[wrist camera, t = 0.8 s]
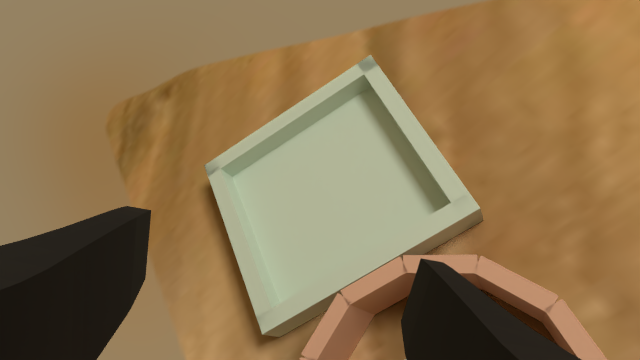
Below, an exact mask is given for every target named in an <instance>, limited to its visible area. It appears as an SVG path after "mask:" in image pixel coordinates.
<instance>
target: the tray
mask: <svg viewBox="0 0 640 360" xmlns="http://www.w3.org/2000/svg"><path fill="white" fill-rule="evenodd" d="M204 166H205V168H206V171H207V174H208V177H209V180H210V183H211V186H212V189H213V192H214V195H215V198H216V201H217V204H218V206H219V209H220V212H221V215H222V218H223V221H224V224H225V227H226V230H227V233H228V236H229V239H230V242H231V244H232V247H233V250H234V253H235V256H236V259H237V262H238V265H239V268H240V271H241V274H242V277H243V280H244V283H245V285H246V288H247V291H248V294H249V297H250V300H251V303H252V306H253V309H254V312H255V315H256V318H257V321H258V323H259V326H260V329H261V332H262V334H263V335H269V336H275V337H281V336H283V335H284V334H286V333H288V332H290V331H291V330H293V329H295V328H297V327H298V326H300V325H302V324H304V323H305V322H307V321H309V320H311V319H312V318H314V317H316V316H318V315H319V314H321V313H323V312H325V311H326V310H328V308H329V307H330V305H331V303H332V302H333V300H334V298H335V297H336V295H337V294H338V293H339V294H341V295H342V293H341V291H340V290H342V289H344V288H345V287H347V286H349V285H351V284H352V283H354V282H356V281H358V280H359V279H361V278H363V277H364V276H366V275H368V274H370V273H371V272H373V271H375V270H377V269H378V268H380V267H382V266H383V265H385V264H387V263H389V262H390V261H392V260H394V259H396V258H397V257H399V256H400V257H401V258H402V259H403V255H424V254H426V253H427V252H429V251H431V250H433V249H434V248H436V247H438V246H440V245H441V244H443V243H445V242H447V241H448V240H450V239H452V238H454V237H455V236H457V235H459V234H461V233H462V232H464V231H466V230H467V229H469V228H471V227H473V226H474V225H476V224H478V223H480V222H481V221H483V216H482V213H481V209H480V207H479V206H478V204H477V203H476V201H475V200H474V199H473V197H472V196H471V194H470V193H469V192H468V190H467V189H466V187H465V186H464V185H463V183H462V182H461V181H460V179H459V178H458V176H457V175H456V174H455V172H454V171H453V169H452V168H451V167H450V165H449V164H448V162H447V161H446V160H445V158H444V157H443V155H442V154H441V153H440V151H439V150H438V148H437V147H436V146H435V144H434V143H433V141H432V140H431V139H430V137H429V136H428V134H427V133H426V132H425V130H424V129H423V127H422V126H421V125H420V123H419V122H418V120H417V119H416V118H415V116H414V115H413V113H412V112H411V111H410V109H409V108H408V106H407V105H406V104H405V102H404V101H403V99H402V98H401V97H400V95H399V94H398V92H397V91H396V90H395V88H394V87H393V85H392V84H391V83H390V81H389V80H388V79H387V77H386V76H385V74H384V73H383V72H382V70H381V69H380V67H379V66H378V65H377V63H376V62H375V60H374V59H373V58H372V56H371V55H370V56H368V57H367V58H365V59H364V60H362V61H361V62H359V63H358V64H356V65H355V66H353V67H352V68H350V69H349V70H347V71H346V72H344V73H343V74H341V75H340V76H338V77H337V78H335V79H334V80H332V81H331V82H329V83H328V84H326V85H325V86H323V87H322V88H320V89H319V90H317V91H316V92H314V93H313V94H311V95H310V96H308V97H307V98H305V99H304V100H302V101H301V102H299V103H297V104H296V105H294V106H293V107H291V108H290V109H288V110H287V111H285V112H284V113H282V114H281V115H279V116H278V117H276V118H275V119H273V120H272V121H270V122H269V123H267V124H266V125H264V126H263V127H261V128H260V129H258V130H257V131H255V132H254V133H252V134H251V135H249V136H248V137H246V138H245V139H243V140H242V141H240V142H239V143H237V144H236V145H234V146H233V147H231V148H230V149H228V150H227V151H225V152H224V153H222V154H221V155H219V156H218V157H216V158H215V159H213V160H212V161H210V162H209V163H207V164H206V165H204Z"/></svg>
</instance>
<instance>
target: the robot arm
mask: <svg viewBox="0 0 640 360" xmlns="http://www.w3.org/2000/svg"><path fill="white" fill-rule="evenodd" d="M150 217H151V210H146V209H141V208H135V207H129V206H126V207H121V208H118V209H114V210H111V211H108V212H106V213H103V214H100V215H97V216H94V217H91V218H89V219H86V220H83V221H80V222H77V223H74V224H72V225H69V226H66V227H63V228H60V229H56V230H53V231H50V232H47V233H44V234H41V235H37V236H34V237H31V238H28V239H24V240H21V241H17V242H13V243H9V244H5V245H2V246H0V360H97V358H98V356H99V355H100V354H101V352H102V351H103V349H104V348H105V346H106V345H107V343H108V342H109V340H110V339H111V337H112V336H113V335H114V333H115V332H116V330H117V329H118V327H119V326H120V324H121V323H122V321H123V320H124V318H125V317H126V315H127V314H128V312H129V310H130V309H131V307H132V305H133V303H134V301H135V299H136V297H137V295H138V293H139V291H140V289H141V287H142V284H143V282H144V280H145V275H146V264H147V252H148V241H149V229H150ZM401 325H402V334H403V342H404V348H405V355H406V359H407V360H582V359H580V358H578V357H576V356H575V355H573V354H571V353H569V352H568V351H566V350H564V349H563V348H561V347H559V346H558V345H556V344H555V343H553V342H551V341H550V340H548V339H547V338H545V337H543V336H542V335H540V334H539V333H537V332H536V331H534V330H533V329H531V328H530V327H528V326H527V325H526V324H524V323H523V322H521V321H520V320H519V319H517V318H516V317H514V316H513V315H512V314H510V313H509V312H508V311H506V310H505V309H504V308H502V307H501V306H500V305H498V304H497V303H496V302H495V301H493V300H492V299H491V298H489V297H488V296H487V295H486V294H484V293H483V292H482V291H481V290H479V289H478V288H477V287H476V286H474V285H473V284H472V283H471V282H469V281H468V280H467V279H466V278H464V277H463V276H462V275H461V274H459V273H458V272H457V271H455V270H454V269H453V268H451V267H450V266H448V265H447V264H445V263H443V262H439V261H433V260H428V259H422V258H421V259H420V262H419V265H418V269H417V272H416V275H415V278H414V281H413V285H412V288H411V291H410V294H409V297H408V301H407V304H406V307H405V310H404V313H403V317H402V320H401Z"/></svg>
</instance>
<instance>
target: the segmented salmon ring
mask: <svg viewBox="0 0 640 360" xmlns="http://www.w3.org/2000/svg"><path fill="white" fill-rule="evenodd" d="M421 258H422V259H428V260H433V261H439V262H443V263H445V264H447V265H448V266H450V267H451V268H453V269H454V270H455V271H457V272H458V273H459V274H461V275H462V276H463V277H464V278H466V279H467V280H468V281H469V282H471V283H472V284H473V285H474V286H476V287H477V288H478V289H483V290H485V291H487V292H489V293H490V294H492V295H494V296H496V297H498V298H499V299H501V300H503V301H505V302H506V303H508V304H510V305H512V306H514V307H515V308H517V309H519V310H521V311H523V312H524V313H526V314H528V315H530V316H532V317H533V318H535V319H537V320H539V321H541V322H542V323H543V324H544V326H545V327H546V329H547V330H548V331H549V333H550V334H551V336H552V337H553V339H554V340H555V342H556V343H557V344H558V346H559V347H561V348H563V349H564V350H566V351H568V352H569V353H571V354H573V355H575V356H576V357H578V358H580V359H582V360H607V359H606V357H605V356H604V355H603V353H602V352H601V351H600V349H599V348H598V346H597V345H596V344H595V342H594V341H593V340H592V338H591V337H590V336H589V334H588V333H587V332H586V330H585V329H584V327H583V326H582V325H581V323H580V322H579V321H578V319H577V318H576V317H575V315H574V314H573V313H572V311H571V310H570V308H569V307H568V306H567V304H566V303H565V302H564V300H563V299H562V300H560V301H558V302H556V301H557V299H558V295H556V294H554V293H552V292H550V291H549V290H547V289H545V288H543V287H541V286H539V285H537V284H535V283H533V282H531V281H529V280H527V279H525V278H523V277H522V276H520V275H518V274H516V273H514V272H512V271H510V270H508V269H506V268H504V267H502V266H500V265H498V264H496V263H495V262H493V261H491V260H489V259H487V258H485V257H483V256H481V257H480V259H479V258H478V255H403V259H402V258H401V257H400V256H399V257H397V258H396V259H394V260H392V261H390V262H389V263H387V264H385V265H383V266H382V267H380V268H378V269H377V270H375V271H373V272H371V273H370V274H368V275H366V276H364V277H363V278H361V279H359V280H358V281H356V282H354V283H352V284H351V285H349V286H347V287H345V288H344V289H342V290H340V291H341V293H342V295H341V294H339V293H338V294H337V295H336V297H335V298H334V300H333V302H332V303H331V305H330V307H329V308H328V310H327V312H326V313H325V315H324V317H323V318H322V320H321V322H320V323H319V325H318V327H317V328H316V330H315V332H314V333H313V335H312V336H311V338H310V340H309V341H308V343H307V345H306V346H305V348H304V350H303V351H302V353H301V354H302V355H303V356H305V357H306V358H301V357H300V360H348V359H349V357H350V356H351V354H352V352H353V351H354V349H355V347H356V346H357V344H358V342H359V341H360V339H361V337H362V335H363V334H364V332H365V330H366V329H367V327H368V325H369V324H370V322H371V320H372V318H373V317H374V315H375V314H377V313H379V312H381V311H382V310H384V309H386V308H388V307H390V306H391V305H393V304H395V303H397V302H398V301H400V300H402V299H404V298H406V297H407V296H409V294H410V291H411V288H412V285H413V281H414V278H415V275H416V272H417V269H418V265H419V262H420V259H421Z"/></svg>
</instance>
